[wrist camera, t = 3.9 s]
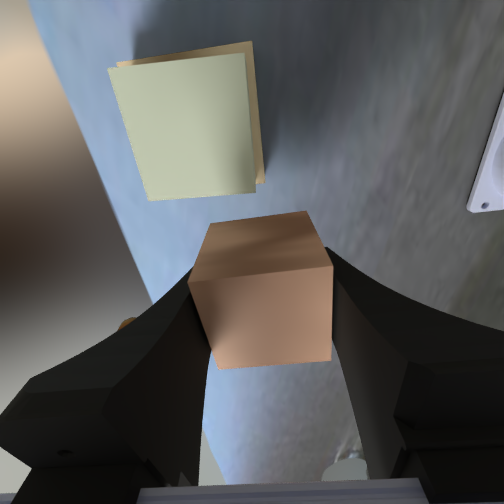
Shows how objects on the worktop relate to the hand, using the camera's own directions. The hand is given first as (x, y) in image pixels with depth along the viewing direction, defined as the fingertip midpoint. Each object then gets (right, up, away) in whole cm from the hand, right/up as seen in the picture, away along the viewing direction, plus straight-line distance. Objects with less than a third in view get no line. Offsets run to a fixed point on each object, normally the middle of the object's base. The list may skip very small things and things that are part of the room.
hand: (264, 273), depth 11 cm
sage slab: (-4, +8, +3) cm, 9 cm away
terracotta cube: (0, +1, +1) cm, 2 cm away
